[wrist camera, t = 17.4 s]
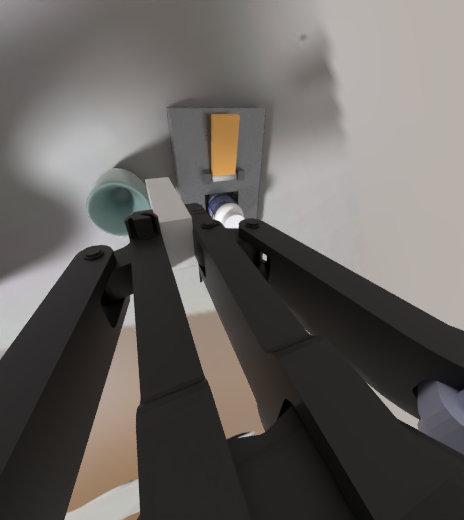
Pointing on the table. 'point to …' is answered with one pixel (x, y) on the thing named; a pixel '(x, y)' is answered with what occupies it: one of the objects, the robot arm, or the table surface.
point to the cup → (116, 200)
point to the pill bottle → (224, 210)
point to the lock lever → (224, 146)
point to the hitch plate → (199, 155)
